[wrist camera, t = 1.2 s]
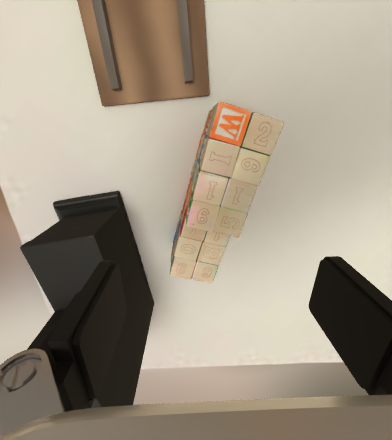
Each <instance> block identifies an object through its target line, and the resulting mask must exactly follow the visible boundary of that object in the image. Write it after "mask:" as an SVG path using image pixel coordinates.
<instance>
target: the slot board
mask: <svg viewBox="0 0 392 440" xmlns="http://www.w3.org/2000/svg"><path fill="white" fill-rule="evenodd" d="M77 1H78V5H79V9H80V13H81V18H82V22H83V26H84V30H85V35H86V39H87V43H88V47H89V52H90V56H91V60H92V64H93V69H94V73H95V77H96V81H97V85H98V90H99V94H100V98H101V102H102V106H113V105H123V104H133V103H142V102H152V101H162V100H172V99H181V98H191V97H201V96H209V95H210V94H209V77H208V60H207V44H206V27H205V10H204V0H77Z"/></svg>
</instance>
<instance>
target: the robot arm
mask: <svg viewBox="0 0 392 440" xmlns="http://www.w3.org/2000/svg"><path fill="white" fill-rule="evenodd" d="M309 309H310V312H311V313H312V315H313V316H314V318H315V319H316V321H317V322H318V324H319V325H320V327H321V328H322V330H323V331H324V333H325V334H326V336H327V337H328V339H329V340H330V342H331V343H332V345H333V346H334V348H335V350H336V351H337V353H338V354H339V356H340V357H341V359H342V360H343V362H344V363H345V365H346V366H347V367H348V369H349V371H350V372H351V374H352V375H353V377H354V378H355V380H356V381H357V383H358V384H359V385H360V386H361V387H362V388H363V389H365V390H366V391H367V393H368V394H369V395H368V396H337V397H309V398H281V399H255V400H231V401H207V402H185V403H162V404H142V405H127V406H111V407H97V408H91V407H92V404H93V401H94V399H98V398H99V396H100V394H101V391H102V388H103V385H104V382H105V379H106V376H107V373H108V370H109V367H110V364H111V360H112V357H113V354H114V351H115V348H116V345H117V342H118V339H119V336H120V333H121V330H122V327H123V324H124V321H125V318H126V314H127V308H126V302H125V296H124V290H123V284H122V278H121V272H120V266H119V264H115V261H100V262H99V264H98V265H97V267H96V268H95V270H94V271H93V273H92V275H91V276H90V278H89V279H88V281H87V282H86V284H85V285H84V287H83V288H82V290H81V291H79V292H77V293H76V295H75V296H74V297H73V299H72V300H71V302H70V303H69V305H68V306H67V308H66V309H65V311H64V312H63V314H62V315H61V317H60V318H59V320H58V321H57V323H56V324H55V325H54V327H53V328H52V330H51V331H50V333H49V334H48V336H47V337H46V339H45V340H44V342H43V343H42V345H41V346H40V348H39V349H29V350H25V351H22V352H20V353H17V354H15V355H14V356H12V357H10V358H9V359H7V360H6V361H5V362H4V363H2V364H1V365H0V440H392V301H391V300H390V299H389V298H388V297H387V296H386V295H384V294H383V293H382V292H381V291H380V290H379V289H377V288H376V287H375V286H374V285H373V284H372V283H370V282H369V281H368V280H367V279H366V278H365V277H363V276H362V275H361V274H360V273H359V272H357V271H356V270H355V269H354V268H353V267H352V266H350V265H349V264H348V263H347V262H346V261H345V260H343V259H342V258H341V257H338V256H336V257H325V258H324V259H323V260H321V261H320V264H319V268H318V272H317V275H316V279H315V283H314V287H313V290H312V294H311V298H310V302H309Z"/></svg>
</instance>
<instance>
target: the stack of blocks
mask: <svg viewBox="0 0 392 440" xmlns="http://www.w3.org/2000/svg"><path fill="white" fill-rule="evenodd" d="M282 127H283V122H282V121H279V120H276V119H273V118H270V117H267V116H264V115H261V114H258V113H255V112H254V113H251V112H250V111H248V110H245V109H242V108H239V107H236V106H233V105H230V104H227V103H224V102H218V103H217V105H215V106H214V107H213V109H212V110H210V111H209V113H208V117H207V121H206V124H205V128H204V131H203V134H202V136H201V140H200V144H199V147H198V151H197V155H196V158H195V161H194V165H193V169H192V172H191V179H190V183H189V186H188V190H187V195H186V199H185V202H184V206H183V210H182V211H181V214H180V218H179V221H178V225H177V230H176V233H175V237H174V241H173V248H172V255H171V269H170V275H172V276H177V277H182V278H187V279H194V280H198V281H204V282H208V283H212V282H213V280H214V277H215V274H216V272H217V269H218V265H219V264H220V262H221V259H222V256H223V253H224V251H225V248H226V245H227V243H228V240H229V237H230V236H234V237H239V235H240V232H241V230H242V227H243V224H244V222H245V219H246V216H247V212H248V209H249V207H250V204H251V202H252V199H253V196H254V194H255V191H256V188H257V186H258V185H259V183H260V181H261V178H262V176H263V173H264V171H265V168H266V165H267V163H268V160H269V157H270V155H271V154H272V151H273V149H274V147H275V144H276V142H277V139H278V137H279V134H280V132H281V129H282Z"/></svg>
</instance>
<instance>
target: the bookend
mask: <svg viewBox="0 0 392 440" xmlns="http://www.w3.org/2000/svg"><path fill="white" fill-rule="evenodd" d="M53 206H54V209H55V211H56V213H57V216H58V218H59V220H60V221H59V222H57V223H56V224H54V225H53V226H51V227H50V228H49V229H47V230H46V231H44V232H43V233H41V234H40V235H39V236H37V237H36V238H34V239H33V240H31V241H29V242H27V243H25V244H23V245H22V246H21V247H20V249H21V251H22V253H23V254H24V256H25V258H26V259H27V261H28V263H29V265H30V267H31V269H32V271H33V272H34V274H35V276H36V278H37V280H38V282H39V284H40V285H41V287H42V289H43V291H44V293H45V294H46V296H47V298H48V300H49V302H50V304H51V305H52V307H53V309H54V311H55V312H54V314H53V315H52V317H51V318H50V319H49V321H48V322H47V323H46V325H45V326H44V327H43V329H42V330H41V332H40V333H39V334H38V336H37V337H36V338H35V340H34V341H33V342H32V344H31V345H30V346H29V348H28V349H27V350H29V349H39V348H40V346H41V345H42V343H43V342H44V340H45V339H46V337H47V336H48V334H49V333H50V331H51V330H52V328H53V327H54V325H55V324H56V323H57V321H58V320H59V318H60V317H61V315H62V314H63V312H64V311H65V309H66V308H67V306H68V305H69V303H70V302H71V300H72V299H73V297H74V296H75V295H76V293H77V292H79V291H81V290H82V288H83V287H84V285H85V284H86V282H87V281H88V279H89V278H90V276H91V275H92V273H93V271H94V270H95V268H96V267H97V265H98V264H99V262H100V261H115V264H119V266H120V272H121V278H122V284H123V290H124V296H125V302H126V308H127V314H126V318H125V321H124V324H123V327H122V330H121V333H120V336H119V339H118V342H117V345H116V348H115V351H114V354H113V357H112V360H111V364H110V367H109V370H108V373H107V376H106V379H105V382H104V385H103V388H102V391H101V394H100V396H99V398H98V399H94V401H93V404H92V407H91V408H97V407H111V406H127V405H133V401H134V397H135V392H136V387H137V383H138V378H139V373H140V369H141V364H142V359H143V354H144V350H145V345H146V340H147V335H148V330H149V326H150V321H151V316H152V311H153V306H154V302H153V299H152V295H151V292H150V289H149V286H148V282H147V279H146V276H145V273H144V269H143V265H142V263H141V258H140V255H139V252H138V250H137V245H136V243H135V240H134V237H133V233H132V230H131V226H130V223H129V221H128V217H127V214H126V211H125V208H124V204H123V201H122V198H121V195H120V192H119V191H116V192H109V193H103V194H97V195H91V196H84V197H79V198H73V199H67V200H61V201H56V202H54V203H53Z"/></svg>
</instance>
